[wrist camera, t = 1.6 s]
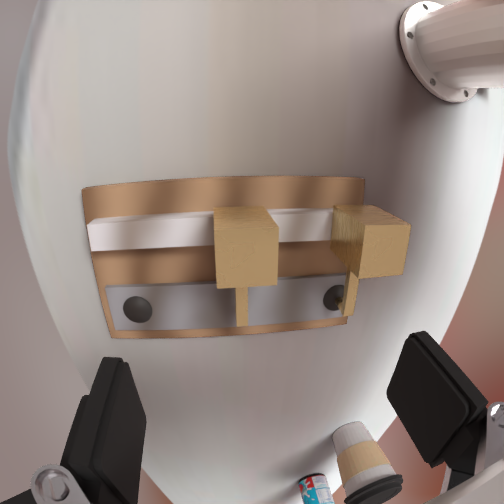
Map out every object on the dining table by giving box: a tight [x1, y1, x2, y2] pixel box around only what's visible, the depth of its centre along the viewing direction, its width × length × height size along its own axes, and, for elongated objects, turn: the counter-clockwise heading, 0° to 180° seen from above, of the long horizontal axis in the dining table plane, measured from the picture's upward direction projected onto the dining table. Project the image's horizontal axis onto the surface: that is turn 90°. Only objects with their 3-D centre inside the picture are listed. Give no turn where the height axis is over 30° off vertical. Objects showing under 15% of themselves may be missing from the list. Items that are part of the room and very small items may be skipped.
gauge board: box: [82, 176, 365, 338], centre depth 28 cm, size 26×16×3 cm, turn 90°
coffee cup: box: [333, 422, 403, 504], centre depth 37 cm, size 9×9×15 cm
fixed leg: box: [330, 205, 411, 317], centre depth 25 cm, size 4×10×7 cm, turn 0°
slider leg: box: [213, 206, 279, 327], centre depth 24 cm, size 4×10×7 cm, turn 0°
